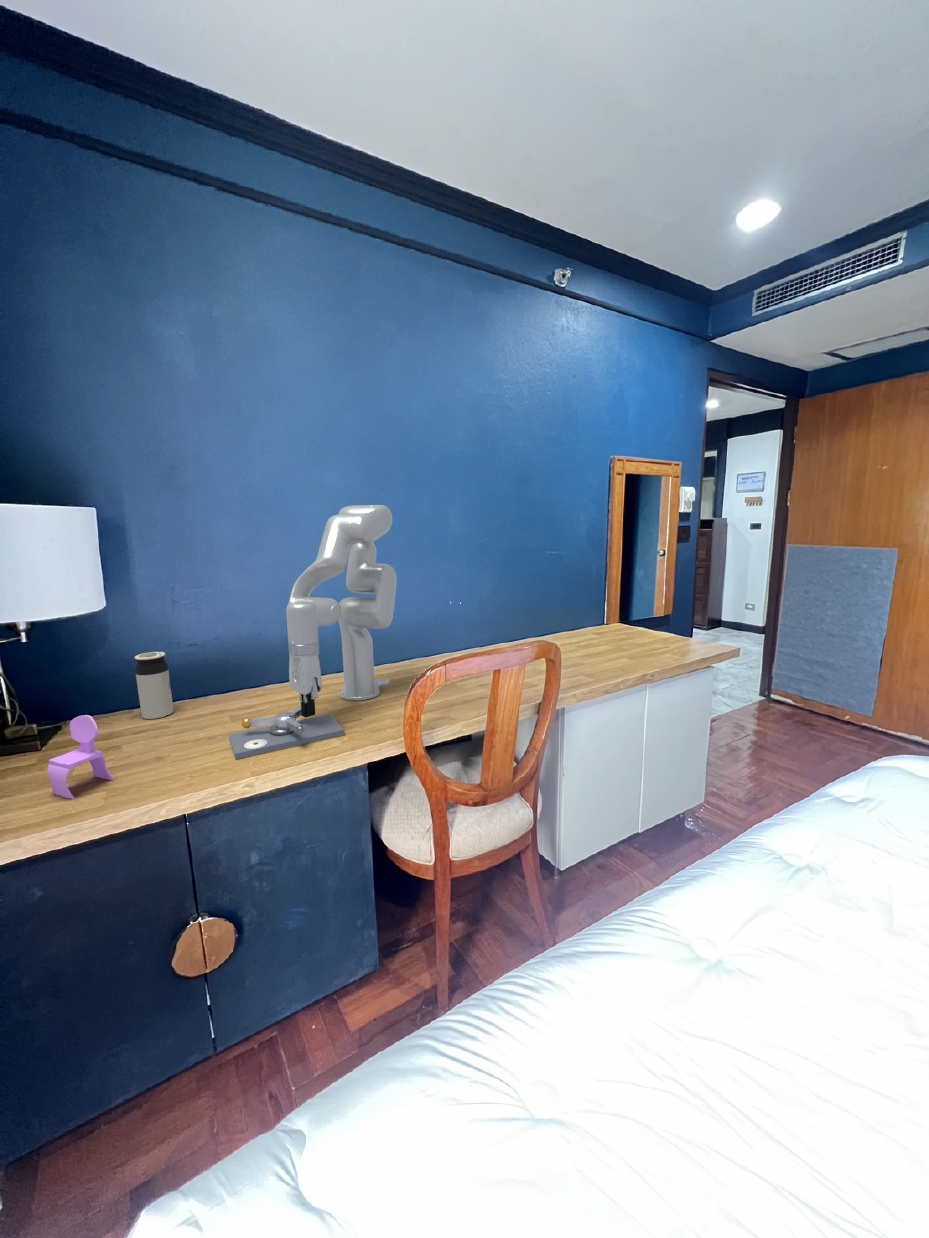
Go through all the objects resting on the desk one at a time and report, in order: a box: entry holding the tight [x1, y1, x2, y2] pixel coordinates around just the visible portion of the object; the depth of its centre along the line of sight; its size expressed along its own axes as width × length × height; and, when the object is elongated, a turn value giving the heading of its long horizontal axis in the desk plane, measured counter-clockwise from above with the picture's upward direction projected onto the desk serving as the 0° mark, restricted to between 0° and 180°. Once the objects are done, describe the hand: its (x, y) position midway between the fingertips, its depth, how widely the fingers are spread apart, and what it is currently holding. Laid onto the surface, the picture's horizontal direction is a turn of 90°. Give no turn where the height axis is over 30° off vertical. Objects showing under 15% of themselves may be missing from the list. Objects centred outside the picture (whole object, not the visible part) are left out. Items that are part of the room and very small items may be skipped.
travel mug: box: [134, 651, 175, 720], centre depth 143 cm, size 8×8×18 cm
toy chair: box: [47, 714, 115, 800], centre depth 103 cm, size 8×9×15 cm
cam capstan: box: [240, 705, 305, 735], centre depth 127 cm, size 16×17×4 cm
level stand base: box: [228, 713, 345, 760], centre depth 128 cm, size 26×13×2 cm, turn 121°
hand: (308, 715), depth 133 cm, fingers closed
